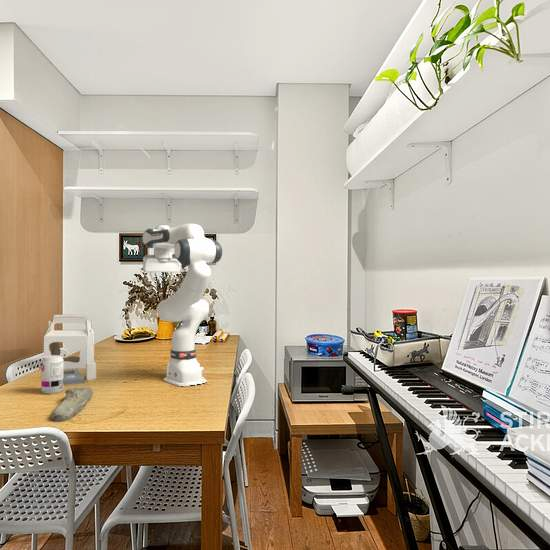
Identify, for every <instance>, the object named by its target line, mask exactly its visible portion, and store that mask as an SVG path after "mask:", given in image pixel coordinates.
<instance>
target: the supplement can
mask: <svg viewBox="0 0 550 550" xmlns="http://www.w3.org/2000/svg"><path fill="white" fill-rule="evenodd" d="M63 358H64V357H63V356H62V355H61V354H60V355H50V356H45V357H44V356H43V358H42V360H41V386H40V387H41V393H42V394H45V395H54V394H60V393H61V392H62V391H63V390H64V385H63V370H64V369H63V368H64V359H63Z"/></svg>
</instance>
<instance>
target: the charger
mask: <svg viewBox="0 0 550 550" xmlns="http://www.w3.org/2000/svg"><path fill="white" fill-rule="evenodd" d="M85 379H86V380H87V381H88V380H96V379H97V362H96V361H94V362H86V369H85Z"/></svg>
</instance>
